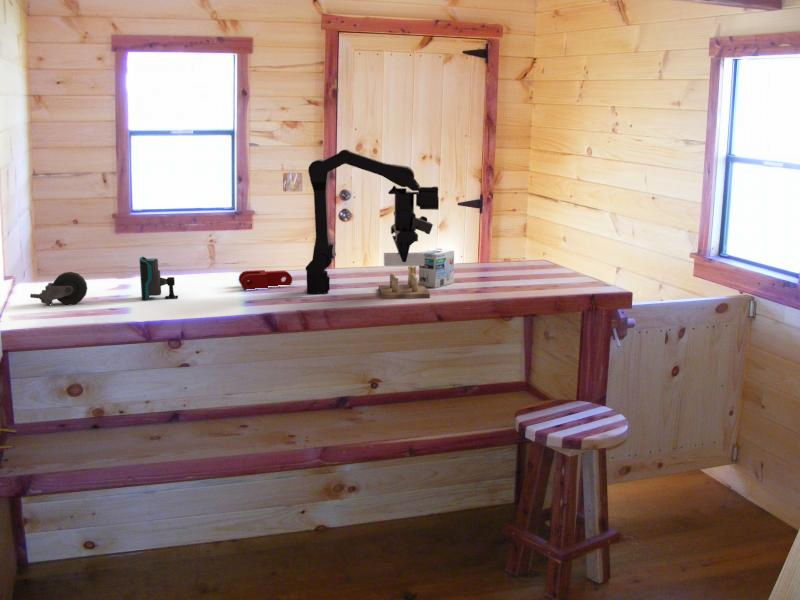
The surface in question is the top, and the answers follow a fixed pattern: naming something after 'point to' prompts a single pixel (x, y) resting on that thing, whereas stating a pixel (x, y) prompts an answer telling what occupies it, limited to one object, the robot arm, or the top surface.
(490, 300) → the top surface
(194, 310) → the top surface
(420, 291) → the peg board
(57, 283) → the caster wheel
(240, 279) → the mechanical linkage
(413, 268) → the brass pin
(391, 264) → the grey rectangular block
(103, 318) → the top surface
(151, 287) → the surveillance camera
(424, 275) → the light bulb box
